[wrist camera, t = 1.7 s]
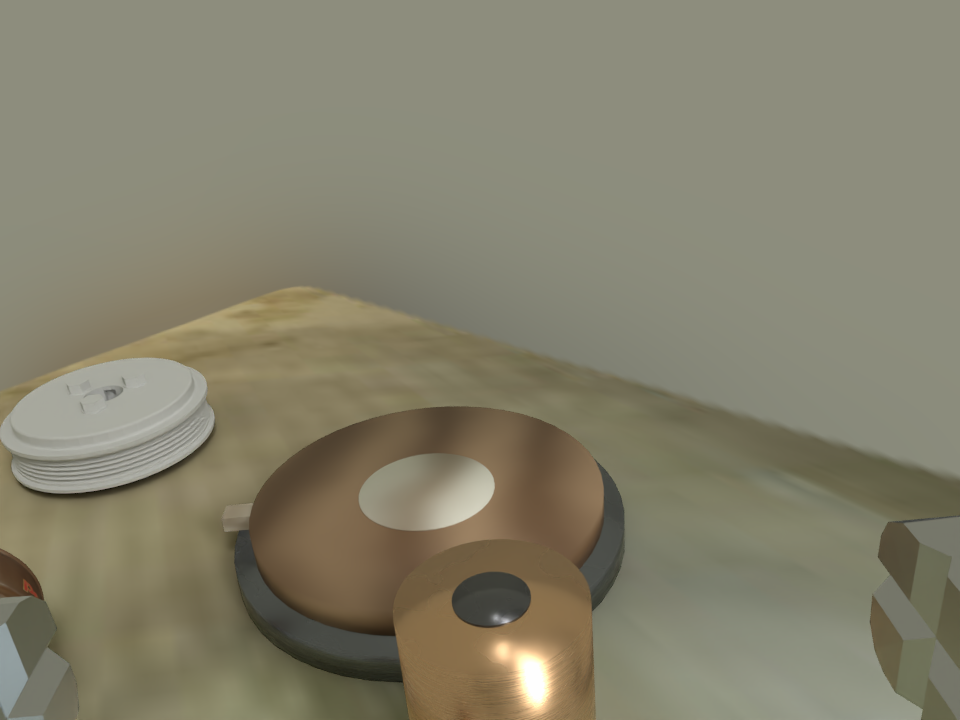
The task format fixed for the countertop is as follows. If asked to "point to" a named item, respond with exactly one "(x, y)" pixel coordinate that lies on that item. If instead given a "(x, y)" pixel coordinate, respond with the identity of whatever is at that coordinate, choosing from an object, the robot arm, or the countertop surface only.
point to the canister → (496, 635)
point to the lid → (107, 425)
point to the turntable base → (380, 652)
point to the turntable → (414, 506)
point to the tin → (17, 578)
